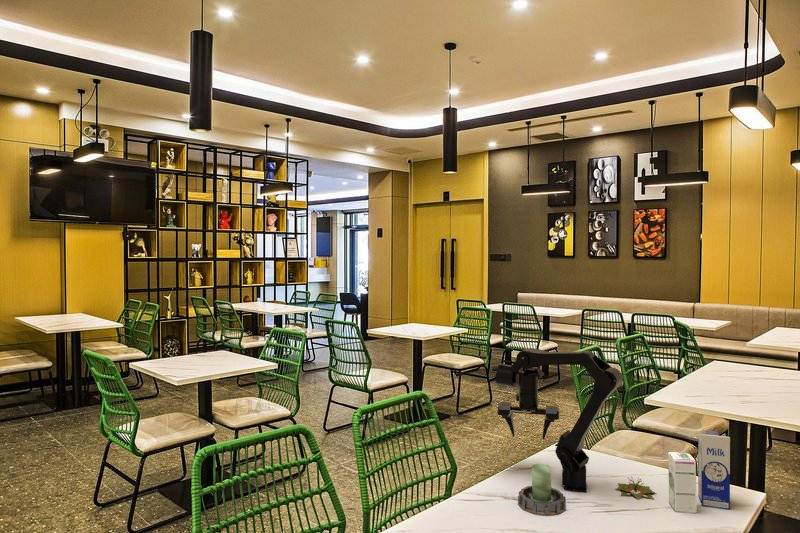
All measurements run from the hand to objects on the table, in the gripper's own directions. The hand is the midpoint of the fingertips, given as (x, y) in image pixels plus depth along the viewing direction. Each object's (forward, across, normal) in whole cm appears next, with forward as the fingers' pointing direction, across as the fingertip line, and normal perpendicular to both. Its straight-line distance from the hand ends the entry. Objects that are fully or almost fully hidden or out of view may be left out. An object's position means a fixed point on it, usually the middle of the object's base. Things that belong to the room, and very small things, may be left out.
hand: (528, 437), depth 171 cm
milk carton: (+12, -51, +5) cm, 53 cm away
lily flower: (+13, -31, +3) cm, 34 cm away
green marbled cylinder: (+12, -5, +20) cm, 24 cm away
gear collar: (+12, -5, +20) cm, 24 cm away
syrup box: (+12, -42, +11) cm, 45 cm away
